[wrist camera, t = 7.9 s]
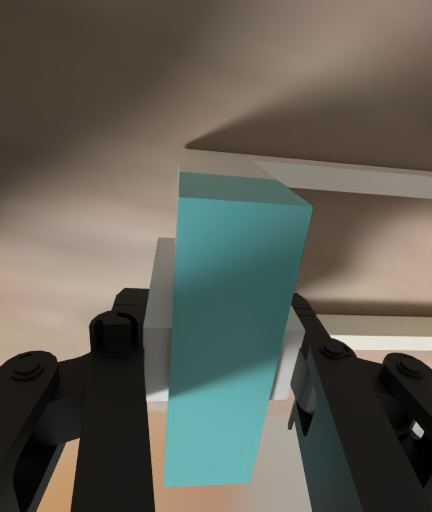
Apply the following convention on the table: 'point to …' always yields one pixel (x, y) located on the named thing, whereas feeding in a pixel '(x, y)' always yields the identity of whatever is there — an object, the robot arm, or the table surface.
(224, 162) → the drawer
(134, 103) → the table surface
